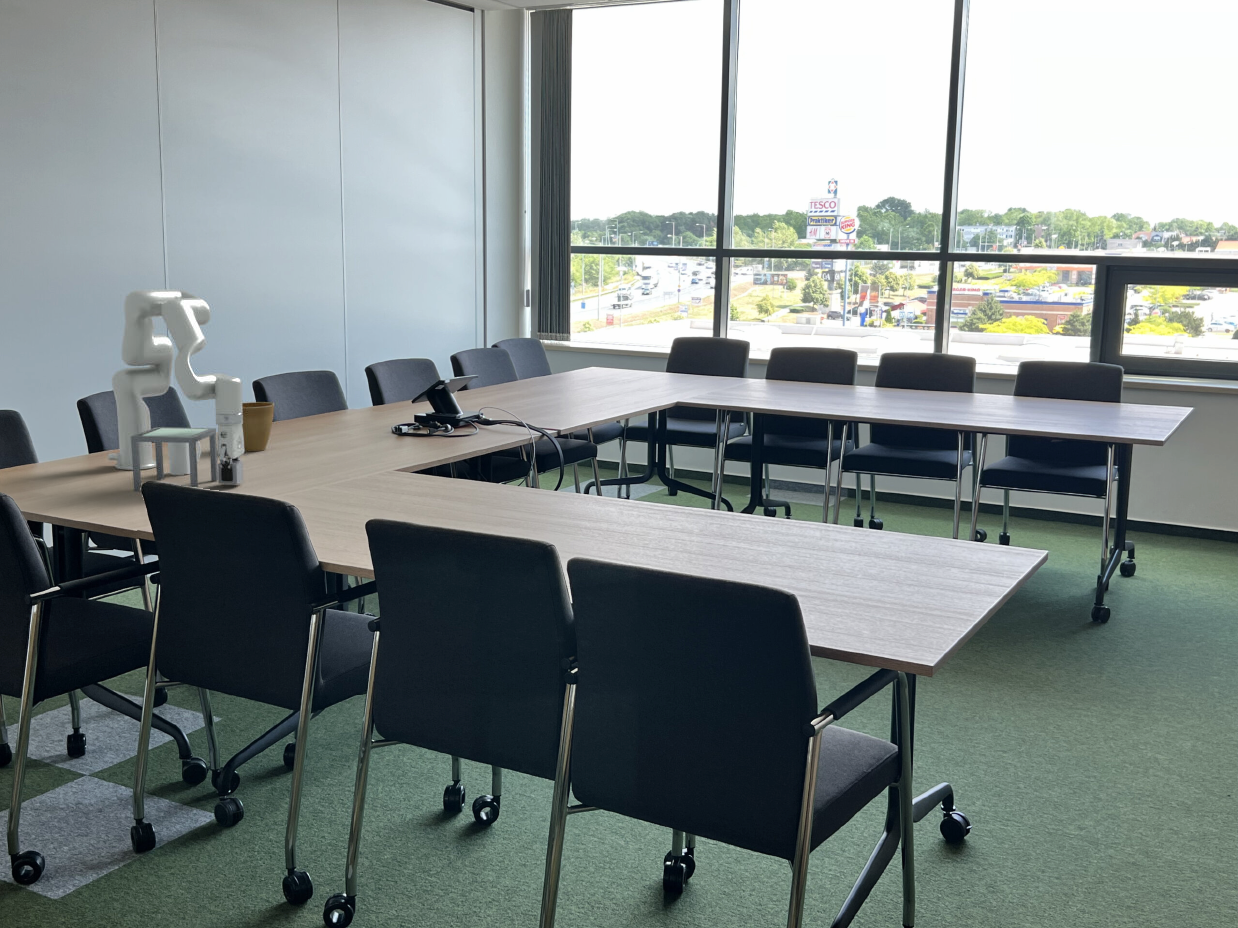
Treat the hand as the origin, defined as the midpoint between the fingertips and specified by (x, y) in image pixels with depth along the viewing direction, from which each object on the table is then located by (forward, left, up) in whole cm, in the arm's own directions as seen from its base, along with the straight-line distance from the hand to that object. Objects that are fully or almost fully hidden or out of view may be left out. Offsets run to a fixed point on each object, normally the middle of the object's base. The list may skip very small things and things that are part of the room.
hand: (230, 478), depth 340 cm
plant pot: (-13, +61, -2) cm, 62 cm away
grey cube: (0, 0, -1) cm, 1 cm away
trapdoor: (-15, -1, +13) cm, 20 cm away
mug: (-20, +18, -2) cm, 27 cm away
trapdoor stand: (-15, -1, -2) cm, 16 cm away
